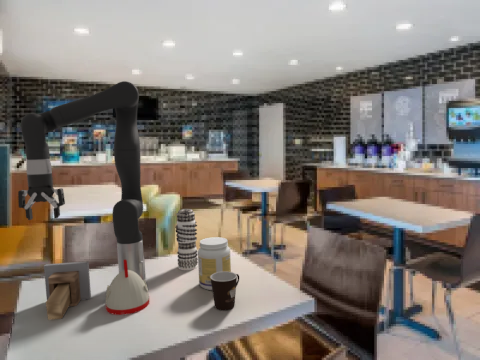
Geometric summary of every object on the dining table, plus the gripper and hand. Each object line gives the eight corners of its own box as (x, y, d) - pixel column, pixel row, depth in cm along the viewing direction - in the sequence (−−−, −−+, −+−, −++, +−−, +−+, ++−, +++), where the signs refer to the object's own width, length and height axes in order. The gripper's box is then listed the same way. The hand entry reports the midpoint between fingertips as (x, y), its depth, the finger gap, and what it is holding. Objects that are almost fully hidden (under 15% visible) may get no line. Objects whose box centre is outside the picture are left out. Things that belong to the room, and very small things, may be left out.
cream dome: (147, 293, 128) (145, 252, 127) (151, 309, 115) (149, 264, 114) (105, 300, 123) (102, 258, 122) (105, 318, 110) (102, 271, 109)
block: (80, 299, 124) (78, 270, 123) (76, 305, 119) (74, 276, 118) (56, 301, 123) (53, 272, 122) (50, 308, 118) (48, 278, 117)
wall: (91, 297, 126) (88, 261, 125) (89, 298, 125) (87, 262, 123) (48, 300, 124) (45, 264, 123) (47, 302, 123) (43, 265, 121)
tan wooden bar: (73, 297, 122) (71, 281, 121) (62, 318, 111) (59, 301, 109) (60, 298, 122) (58, 282, 120) (48, 319, 110) (45, 302, 109)
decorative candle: (202, 264, 157) (200, 208, 155) (192, 271, 149) (189, 212, 146) (184, 262, 161) (181, 207, 158) (173, 269, 152) (170, 211, 149)
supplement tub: (223, 276, 143) (222, 234, 141) (236, 287, 132) (235, 242, 130) (194, 282, 137) (192, 239, 136) (205, 293, 126) (203, 247, 125)
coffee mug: (218, 314, 111) (216, 283, 110) (207, 303, 118) (206, 274, 117) (250, 305, 116) (250, 276, 115) (238, 296, 124) (237, 268, 123)
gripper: (65, 171, 128) (68, 215, 130) (22, 172, 126) (26, 217, 128) (57, 172, 121) (61, 219, 122) (11, 174, 119) (16, 222, 120)
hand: (43, 218), depth 125 cm, fingers open, 8 cm apart
